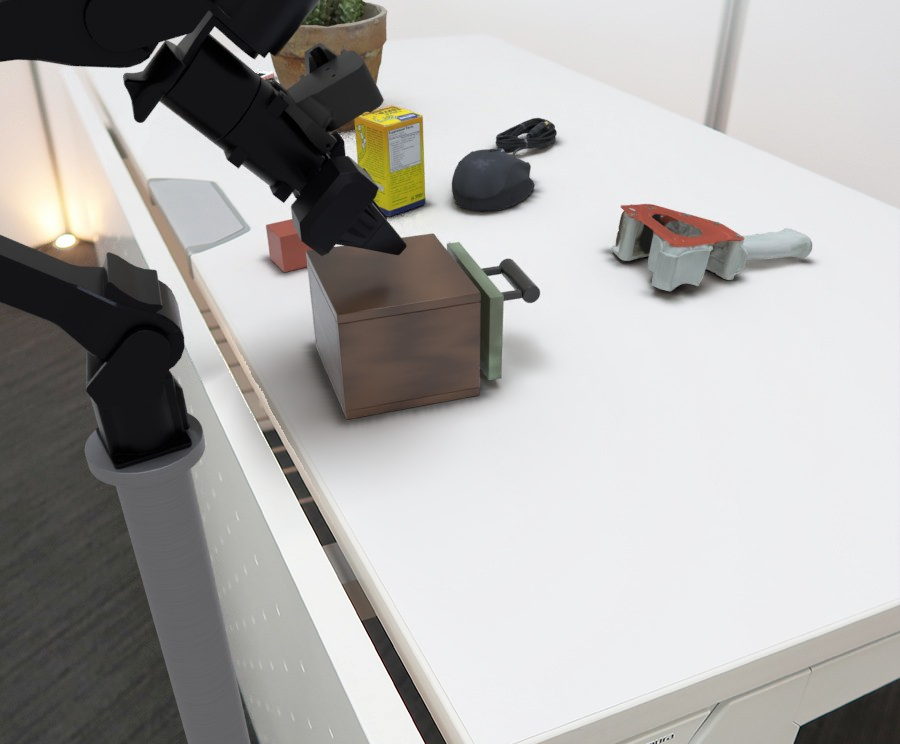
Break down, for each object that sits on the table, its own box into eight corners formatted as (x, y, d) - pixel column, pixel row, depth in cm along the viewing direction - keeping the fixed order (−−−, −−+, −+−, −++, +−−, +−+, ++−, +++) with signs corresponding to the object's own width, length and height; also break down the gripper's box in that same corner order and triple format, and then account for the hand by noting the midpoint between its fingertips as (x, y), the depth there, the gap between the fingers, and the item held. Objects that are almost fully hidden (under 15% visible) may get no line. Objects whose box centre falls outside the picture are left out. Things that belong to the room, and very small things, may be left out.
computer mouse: (439, 211, 112) (438, 166, 109) (506, 132, 137) (507, 94, 134) (514, 219, 110) (516, 174, 107) (569, 137, 135) (572, 99, 131)
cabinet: (435, 327, 88) (433, 232, 83) (479, 395, 79) (481, 292, 73) (315, 347, 85) (305, 250, 80) (346, 419, 76) (336, 315, 70)
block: (284, 272, 98) (279, 237, 96) (270, 259, 101) (265, 224, 99) (318, 264, 100) (315, 229, 98) (303, 251, 103) (300, 216, 100)
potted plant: (360, 147, 132) (348, -50, 117) (247, 133, 137) (221, -56, 123) (409, 111, 146) (403, -68, 131) (304, 100, 151) (288, -73, 136)
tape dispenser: (806, 268, 102) (631, 227, 108) (821, 221, 99) (640, 182, 105) (782, 331, 88) (584, 280, 95) (798, 279, 85) (593, 231, 92)
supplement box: (395, 192, 117) (391, 103, 111) (426, 205, 114) (424, 114, 107) (358, 204, 114) (352, 113, 108) (389, 217, 111) (384, 125, 104)
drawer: (502, 311, 89) (504, 235, 84) (549, 369, 80) (554, 287, 76) (351, 336, 85) (345, 257, 81) (382, 399, 76) (377, 315, 72)
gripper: (336, 45, 56) (501, 199, 65) (284, -8, 71) (425, 124, 80) (225, 187, 59) (398, 315, 68) (196, 107, 73) (343, 222, 83)
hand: (392, 235), depth 75 cm, fingers open, 6 cm apart
